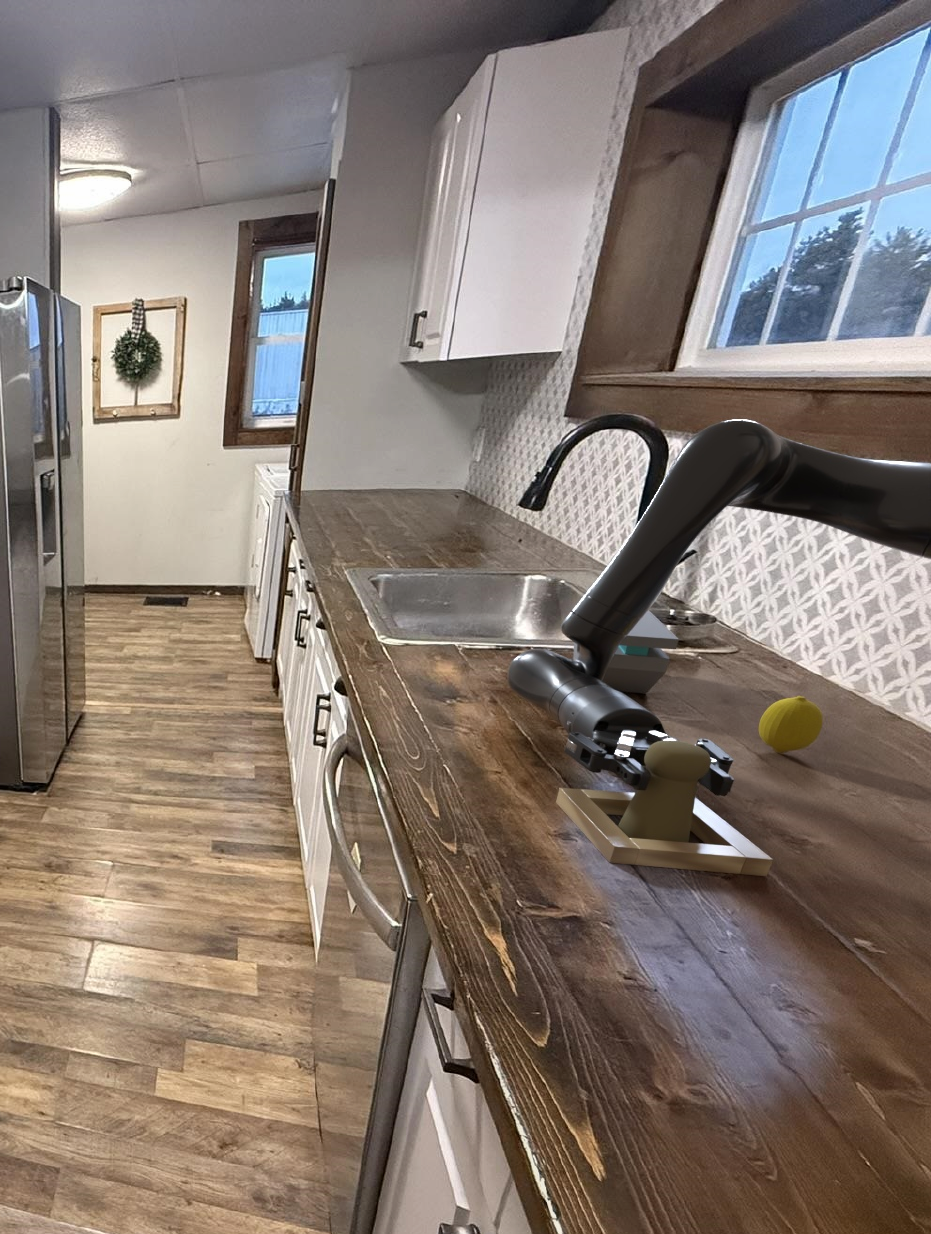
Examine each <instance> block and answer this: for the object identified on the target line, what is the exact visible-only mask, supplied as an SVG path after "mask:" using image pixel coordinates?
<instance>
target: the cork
mask: <svg viewBox="0 0 931 1234" xmlns="http://www.w3.org/2000/svg"><path fill="white" fill-rule="evenodd" d="M644 763H645V765H646V766H647V767H646V766H645V767H646V769H647V770H648V771H649V772H650V779H649V782H648V785H647V788H646V790H644V791H643V790H635V792H634V793H635V794H634V796H633V798H632V800H631V802H630V804H629V806H628V808H627V809H626V811H625V813H624V815H622V816H621V819H620V821H619V823H618V825H617V826H618V827H619V828H620V829H621V830H622V831H623V832H624V833H625V834H626V835H627V836H628V837H629V838H637V839H649V840H662V841H674V842H687V843H690V842H689V841H690V836H691V831H690V829H691V822H692V816H693V809H694V802H695V797H696V796H697V795H696V794H697V788H698V783H699V782H698V779H700V778H702V777H704V776H705V775H706V773H707V772H708V770H709V768H710V765H711V758H710V755H709V753H708V752H707V751H706V750H704V749H703V748H701V747H699V746H697V745H696V744H693V743H691V742H686V741H682V740H679V741H675V740H664V741H658V742H655V743H653V744H652V745H651V746H650V747H649V748H648V750H647V751H646V753H645V757H644Z"/></svg>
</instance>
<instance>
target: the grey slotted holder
mask: <svg viewBox="0 0 931 1234" xmlns="http://www.w3.org/2000/svg"><path fill="white" fill-rule="evenodd" d="M679 641H680V638H679V637H678V636H676V635H675V634H674V633H673V632H672V631H671V630H670V629H669V628H668V627H667V626H666V625H665V624H664V623H663V622H662V621H660V619H659V618H657V616H655V614H653V612H651V611H650V609H649V610H648V611H647V612H646V614H645V615H644V616H643V617H642V618H641V620H640V621H639V622H638V623H637V624H636V625H635V627H634V628H633V629H632V630H631V631H630V632H629V634H628V635H626V637H625V638H624V639H623V641H622V642H621V643H620V645H619V646H618V648H617V650H616V652H615V654H614V656H613V658H612V660H611V662H610V664H609V666H608V669H607V671H606V673H605V675H604V678H603V680H602V682H604V683H606V684H607V685H608V686H610V687H611V688H613V689H614V690H617V691H619V692H622V693H624V692H626V693H633V694H634V693H635V694H642V695H643V694H645V695H646V694H647V693H648V692H649V691H650V690H652V688H653V687H654V686H655V685H656V684H657V683H658V682H659V681H660V680H661V679H662V678H663V676H664V675H666V674H667V670H668V667H669V664H670V661H671V658H670V657H669V655H667V653H666V652H665V651H664V650H663V649H665V650H677V647H678V645H679ZM579 652H580V646H579V645H578V644H576V643H575V642H573V657H572V660H574V661H575V660H576V659H577V658H578V655H579Z"/></svg>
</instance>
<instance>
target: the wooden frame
mask: <svg viewBox="0 0 931 1234" xmlns="http://www.w3.org/2000/svg"><path fill="white" fill-rule="evenodd" d="M634 794H635V792H628V791H616V790H615V791H613V790H601V789H600V790H599V789H585V788H569V787H559V790H558V792H557V797H556V801H555V804H556V805H557V806H559V807H560V809H561V810H562V811H563V812H564V813H565V815H567V817H568V818H569V819H570V820H571V821H572V822H573V824H574V825H575V826H576V827H577V828H578V829H579V830H580V831H581V832H582V834H583V835H584V836H585V837H586V838H587V839H588V840H589V842H590V843H591V844H592V845H593V846H594V847H595V848H596V849H597V850H598V851H599V853H600V854H601V855H602V856H603V858H605V859H606V860H607V862H608V863H610V864H621V865H629V866H630V865H634V866H641V867H642V866H644V867H654V868H665V869H666V868H667V869H678V870H692V871H700V872H701V871H702V872H712V873H723V874H735V875H745V876H758V877H767V876H768V874H769V871H770V869H771V866H772V864H773V861H774V859H773V858H772V857H770V855H768V854H767V853H766V852H764V851H763V850H762V849H760V847H758V846H757V845H756V844H754V843H753V842H752V841H750V840H749V839H748V838H747V837H746V836H744V835H743V834H742V833H741V832H740V831H738V830H737V829H736V828H735V827H733V826H732V825H731V824H729V823H728V822H727V821H726V820H724V819H723V818H722V817H721V816H719V815H718V814H717V813H715V812H714V811H713V810H712V809H711V808H709V807H708V806H707V805H706V804H705V803H703V802H702V801H701V800H699V799H698V798H697V797H696V796H695V802H694V809H693V816H692V822H691V829H690V832H691V833H692V834H694V835H695V836H696V837H697V838H698V839H699V840H701V841H702V842H703V843H699V842H688V843H687V842H674V841H662V840H649V839H637V838H629V837H628V836H627V835H626V834H625V833H624V832H623V831H622V830H621V829H620V828H619V827H618V825H617V824H616V823H615V822H614V821H613V820H612V819H611V818H610V817H609V816H608V815H613V816H623V815H624V813H625V811H626V809H627V808H628V806H629V804H630V802H631V800H632V798H633V796H634Z"/></svg>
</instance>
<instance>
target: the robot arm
mask: <svg viewBox="0 0 931 1234" xmlns="http://www.w3.org/2000/svg"><path fill="white" fill-rule="evenodd" d="M727 507H733V508H740V509H746V510H747V509H748V510H754V511H760V512H766V513H772V514H777V515H782V516H783V515H784V516H789V517H795V518H799V519H804V520H808V521H812V522H815V523H819V524H822V525H825V526H829V527H831V528H834V529H836V530H839V531H842V532H844V533H847V534H849V535H852V536H854V537H857V538H860V539H862V540H865V541H869V542H871V543H874V544H876V545H881V546H883V547H886V548H889V549H893V550H896V551H899V552H902V553H905V554H909V555H912V556H916V557H920V558H924V559H927V560H931V462H919V461H903V460H902V461H901V460H881V459H872V458H871V459H870V458H862V457H856V456H851V455H846V454H841V453H837V452H834V451H830V450H826V449H823V448H819V447H816V446H811V445H808V444H804V443H801V442H798V441H795V440H792V439H789V438H787V437H784V436H781V435H779V434H777V433H776V432H775V431H773V430H771V428H769V427H767V426H766V425H764V424H762V423H760V422H757V421H755V420H749V419H729V420H723V421H719V422H717V423H714V424H711V425H709V426H707V427H705V428H703V429H701V430H700V431H698V432H696V433H695V434H694V435H693V436H692V437H690V438H689V440H687V441H686V442H685V444H684V445H683V446H682V447H681V449H680V450H679V453H678V454H677V455H676V458H675V459H674V461H673V462H672V464H671V466H670V467H669V470H668V471H667V473H666V475H665V477H664V478H663V479H662V482H661V484H660V486H659V488H658V489H657V491H656V493H655V495H654V496H653V498H652V500H651V502H650V503H649V505H648V506H647V508H646V509H645V511H644V513H643V514H642V515H641V518H640V519H639V521H637V523H636V525H635V527H634V528H633V530H632V531H631V532H630V534H629V535H628V537H627V539H625V542H623V544H622V545H621V547H619V550H618V551H617V552H616V553H615V555H614V556H613V558H612V559H611V560H610V561H609V562H608V564H607V565H606V566H605V568H604V569H603V570H602V571H601V572H600V574H599V575H598V577H597V578H596V579H595V580H594V581H593V583H592V584H591V585H590V587H589V588H588V589H587V590H586V591H585V593H584V594H583V595H582V596H581V597H580V599H579V600H578V602H577V603H576V604H575V605H574V607H573V608H572V609H571V611H570V612H569V613H568V614H567V615H566V617H565V618H564V619H563V621H562V622H561V625H560V631H561V633H562V634H563V635H564V637H566V638H567V639H568V640H570V641H571V642H573V643H574V642H575V643H576V644H578V645H579V646H580V652H579V655H578V658H577V659H576V660H575V661H574V660H573V658H569V657H567V656H564V655H562V654H559V653H557V652H554V651H552V650H549V649H545V648H531V649H527V650H525V651H522V652H521V653H520V654H518V655H517V656H516V657H515V658H513V660H511V663H510V664H509V665H508V669H507V674H506V676H507V677H506V679H507V683H508V685H509V687H510V689H511V691H512V692H513V693H514V694H516V695H517V696H518V697H520V698H521V699H523V700H525V701H526V702H528V703H530V704H532V705H534V706H535V707H537V708H538V709H541V710H542V711H544V712H545V713H547V714H548V715H550V716H551V717H552V718H553V719H554V720H555V721H556V722H557V723H558V724H559V725H561V726H562V727H563V728H564V730H565V732H566V733H567V735H568V737H567V741H566V744H565V747H564V753H565V754H566V755H568V756H569V757H570V758H572V759H573V760H574V761H575V762H577V763H578V764H579V765H581V766H582V767H583V768H584V769H586V770H587V771H589V772H591V773H596V774H599V773H602V771H608V774H609V775H611V776H613V777H618V778H619V779H620V780H622V781H623V782H624V783H625V784H627V785H629V786H630V787H632V789H634V790H635V791H636V790H643V791H644V790H646V788H647V785H648V782H649V779H650V772H649V771H648V770H647V769H648V768H647V766H646V765H645V763H644V757H645V753H646V751H647V750H648V748H649V747H650V746H651V745H652V744H653V743H655V742H658V741H664V740H675V741H680V740H679V739H678V738H676V737H673V736H671V735H668V734H667V733H666V731H665V729H664V726H663V724H662V722H661V720H660V718H659V717H658V716H656V715H655V714H654V713H652V711H650V710H648V709H647V708H646V707H644V706H643V705H641V704H640V703H638V702H637V701H635V700H634V699H633V698H631V697H630V696H629V695H627V694H625V693H624V692H622V691H617V690H614V689H613V688H611V687H610V686H608V685H607V684H606V683H604V682H602V680H603V678H604V675H605V673H606V671H607V669H608V666H609V664H610V662H611V660H612V658H613V656H614V654H615V652H616V650H617V648H618V646H619V645H620V643H621V642H622V641H623V639H624V638H625V637H626V635H628V634H629V632H630V631H631V630H632V629H633V628H634V627H635V625H636V624H637V623H638V622H639V621H640V620H641V618H642V617H643V616H644V615H645V614H646V612H647V611H648V610H649V611H650V609H651V608H652V606H654V605H653V604H654V603H655V602H656V601H657V599H658V598H659V596H660V595H661V593H662V592H663V590H664V588H665V587H666V585H667V583H668V582H669V580H670V578H671V576H672V575H673V573H674V571H675V569H676V568H677V566H678V564H679V562H680V561H681V559H682V558H683V556H684V555H685V553H686V552H687V551H688V549H689V548H690V546H691V545H692V544H693V542H694V541H695V540H696V538H698V536H699V535H700V534H701V533H702V532H703V531H704V529H705V528H706V527H707V526H708V525H709V524H710V523H711V522H712V521H713V520H715V518H716V517H717V516H718V515H720V514H721V512H723V510H725V509H726V508H727ZM695 745H697V746H699V747H701V748H703V749H704V750H706V751H707V752H708V753H709V755H710V758H711V765H710V768H709V770H708V772H707V773H706V775H705V776H704V777H702V778H700V779H698V783H699V784H700V785H701V786H703V787H704V788H705V789H707V790H708V791H709V792H711V794H713V795H714V796H718V797H726V796H727V795H728V793H731V789H732V787H733V784H734V782H735V778H734V777H733V776H732V775H730V774H729V772H730V769H731V766H732V765H733V762H734V758H733V757H732V756H730V755H729V754H728V753H727V752H726V751H725V750H723V749H722V748H721V747H719V746H718V745H717V744H716V743H715V742H713V741H712V740H710V739H707V738H698V739H697V740H696V743H695ZM645 767H646V768H645Z"/></svg>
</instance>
